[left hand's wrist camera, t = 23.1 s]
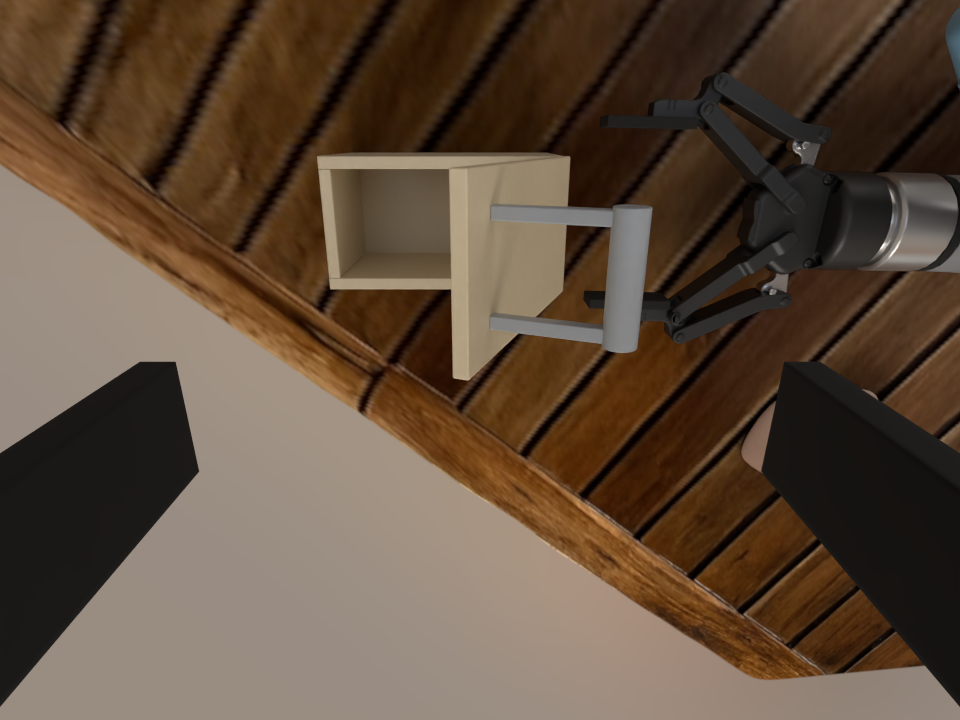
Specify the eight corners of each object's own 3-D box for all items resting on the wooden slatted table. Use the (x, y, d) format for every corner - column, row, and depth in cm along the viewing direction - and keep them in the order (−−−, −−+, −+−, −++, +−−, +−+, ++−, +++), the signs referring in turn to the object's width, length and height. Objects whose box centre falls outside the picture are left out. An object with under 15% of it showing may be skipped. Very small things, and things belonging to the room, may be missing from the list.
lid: (452, 378, 26) (623, 406, 23) (448, 167, 23) (648, 171, 20) (552, 290, 41) (663, 301, 38) (558, 156, 38) (680, 157, 35)
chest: (359, 260, 52) (330, 289, 41) (351, 152, 48) (316, 156, 38) (541, 259, 51) (556, 289, 41) (546, 152, 48) (563, 156, 38)
